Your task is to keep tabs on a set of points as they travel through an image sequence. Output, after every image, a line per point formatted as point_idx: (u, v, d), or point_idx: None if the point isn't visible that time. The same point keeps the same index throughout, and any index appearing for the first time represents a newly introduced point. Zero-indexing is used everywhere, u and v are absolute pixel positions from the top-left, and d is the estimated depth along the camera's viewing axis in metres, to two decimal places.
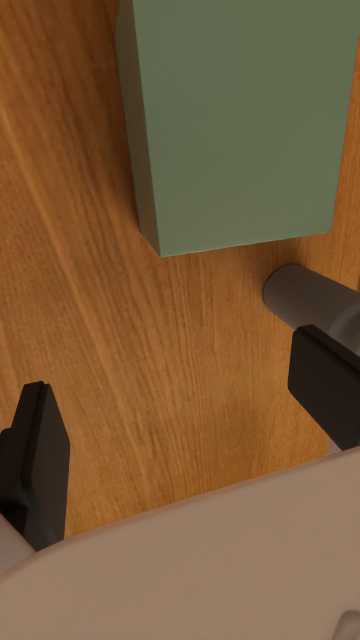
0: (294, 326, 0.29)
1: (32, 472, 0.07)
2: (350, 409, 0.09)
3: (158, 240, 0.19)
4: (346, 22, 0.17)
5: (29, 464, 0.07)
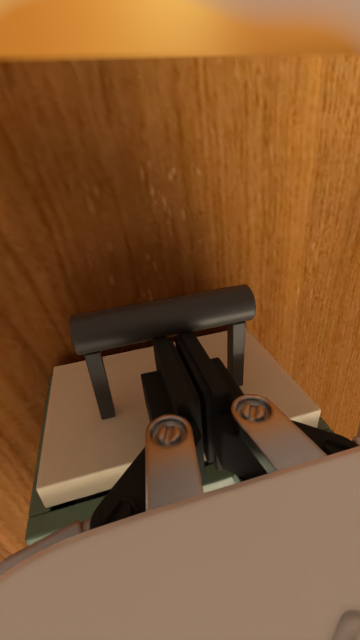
0: None
1: (197, 394, 0.09)
2: (202, 415, 0.10)
3: None
4: None
5: (193, 389, 0.09)
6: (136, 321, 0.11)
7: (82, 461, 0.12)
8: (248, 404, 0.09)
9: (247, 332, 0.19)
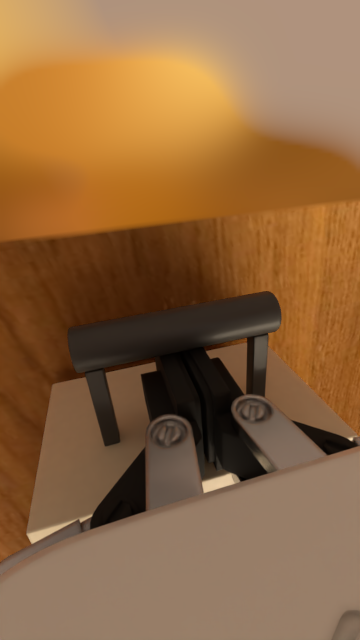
0: None
1: (197, 394, 0.09)
2: (202, 416, 0.10)
3: None
4: None
5: (193, 389, 0.09)
6: (145, 333, 0.10)
7: (82, 497, 0.10)
8: (248, 404, 0.09)
9: None
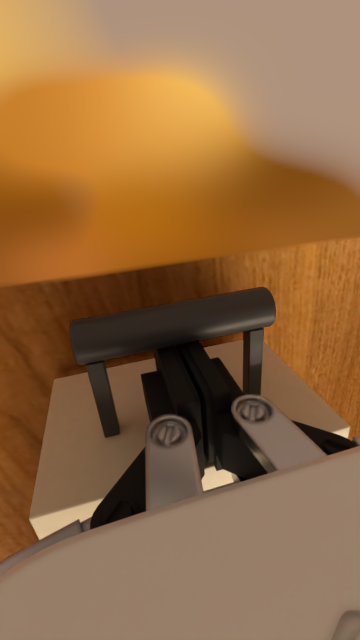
0: None
1: (197, 394, 0.09)
2: (202, 416, 0.10)
3: None
4: None
5: (193, 388, 0.09)
6: (143, 327, 0.10)
7: (82, 485, 0.10)
8: (248, 404, 0.09)
9: None
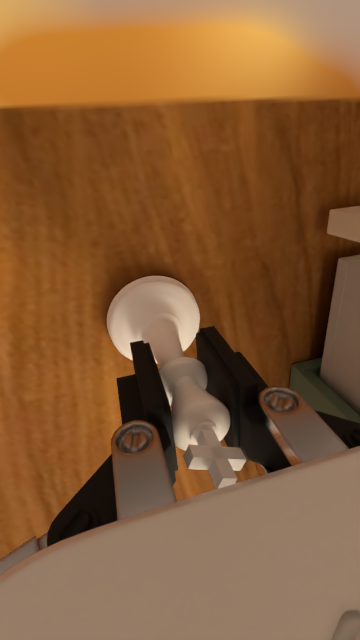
0: None
1: (167, 400, 0.09)
2: (227, 408, 0.10)
3: None
4: None
5: (164, 394, 0.09)
6: None
7: None
8: (276, 395, 0.09)
9: None
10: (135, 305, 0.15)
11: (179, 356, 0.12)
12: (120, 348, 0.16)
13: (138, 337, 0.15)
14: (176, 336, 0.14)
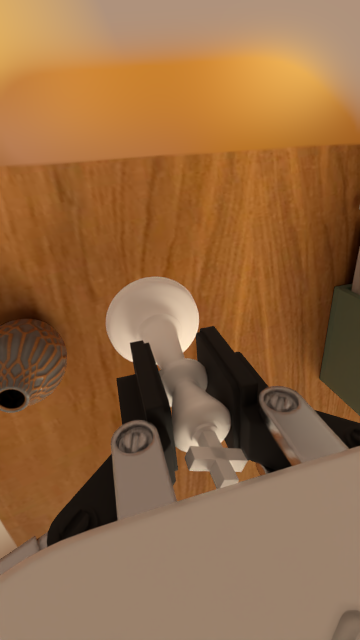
0: None
1: (167, 400, 0.09)
2: (227, 408, 0.10)
3: None
4: None
5: (164, 394, 0.09)
6: None
7: None
8: (276, 395, 0.09)
9: None
10: (134, 306, 0.15)
11: (179, 357, 0.13)
12: (119, 349, 0.16)
13: (137, 338, 0.15)
14: (176, 337, 0.14)
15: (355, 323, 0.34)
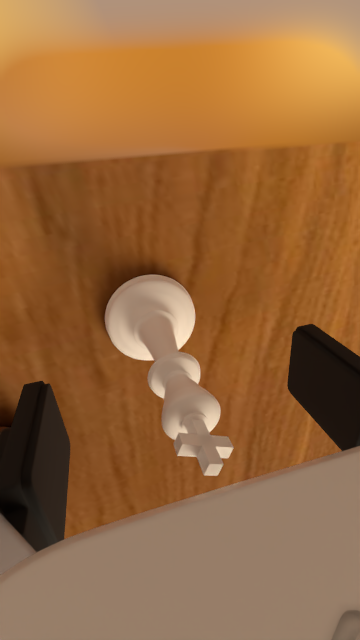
0: None
1: (32, 472, 0.07)
2: (350, 409, 0.09)
3: None
4: None
5: (29, 464, 0.07)
6: None
7: None
8: None
9: None
10: (132, 302, 0.15)
11: (173, 351, 0.13)
12: (118, 345, 0.16)
13: (135, 334, 0.15)
14: (171, 333, 0.14)
15: None
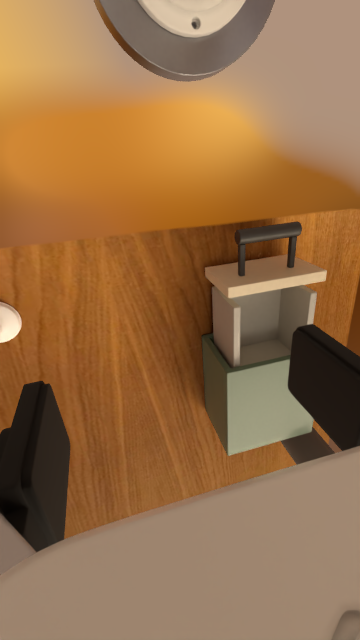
0: (293, 459, 0.50)
1: (32, 472, 0.07)
2: (350, 409, 0.09)
3: (227, 449, 0.41)
4: None
5: (29, 464, 0.07)
6: (260, 231, 0.32)
7: (240, 283, 0.32)
8: None
9: None
10: None
11: None
12: None
13: None
14: None
15: (212, 369, 0.41)
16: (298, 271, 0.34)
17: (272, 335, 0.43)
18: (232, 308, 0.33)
